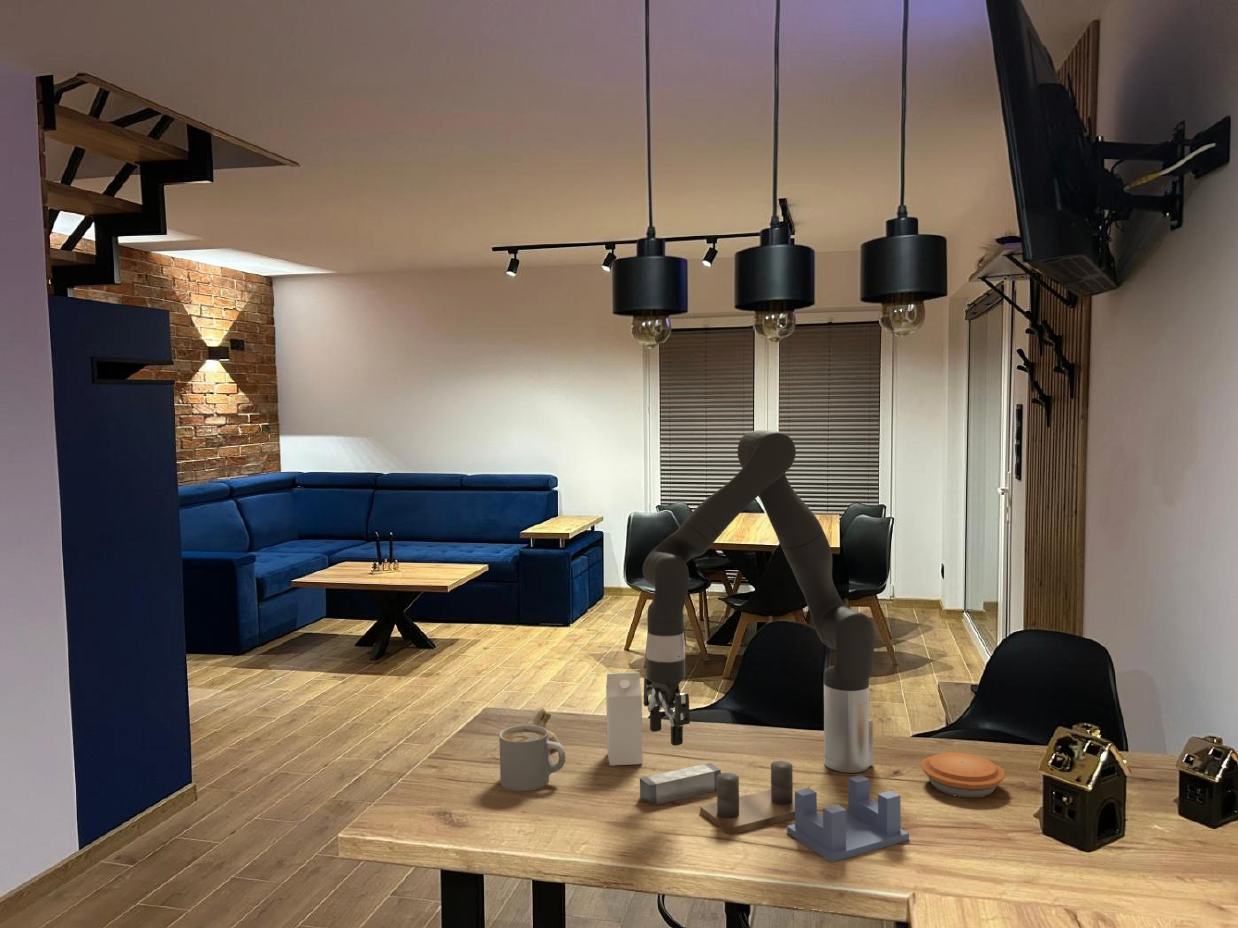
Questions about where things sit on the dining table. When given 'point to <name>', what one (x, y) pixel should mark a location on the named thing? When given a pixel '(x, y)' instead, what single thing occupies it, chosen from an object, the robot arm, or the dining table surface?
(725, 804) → the stand
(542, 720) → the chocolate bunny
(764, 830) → the dining table surface
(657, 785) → the steel bar
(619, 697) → the milk carton
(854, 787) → the notched cradle
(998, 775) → the pie
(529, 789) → the coffee mug
